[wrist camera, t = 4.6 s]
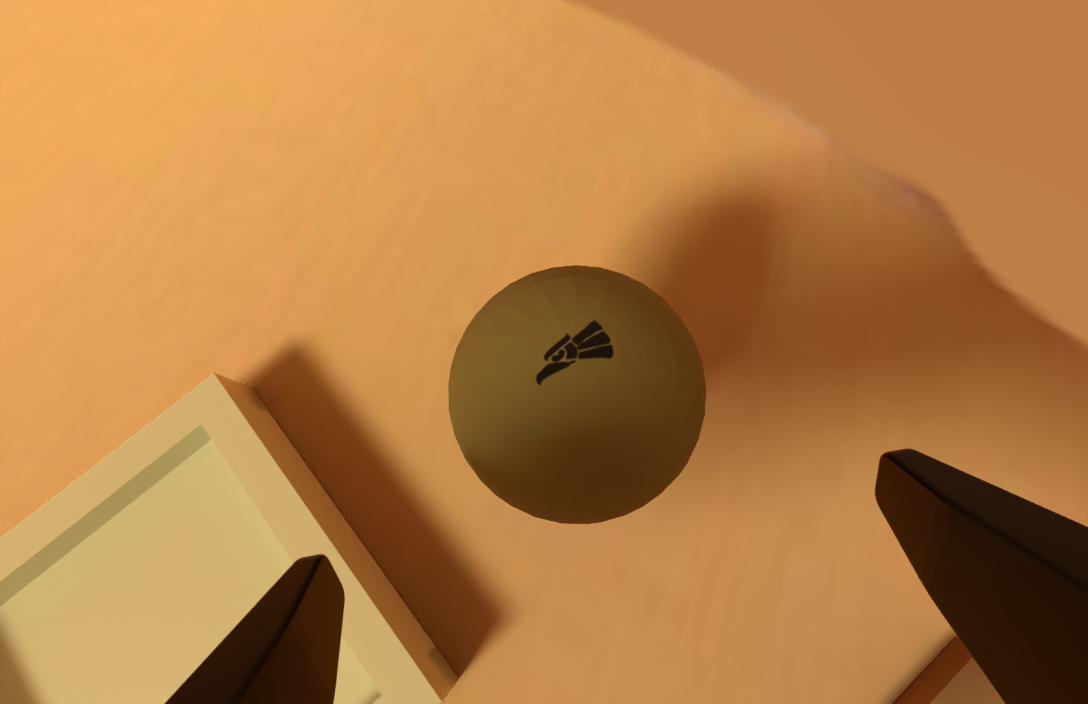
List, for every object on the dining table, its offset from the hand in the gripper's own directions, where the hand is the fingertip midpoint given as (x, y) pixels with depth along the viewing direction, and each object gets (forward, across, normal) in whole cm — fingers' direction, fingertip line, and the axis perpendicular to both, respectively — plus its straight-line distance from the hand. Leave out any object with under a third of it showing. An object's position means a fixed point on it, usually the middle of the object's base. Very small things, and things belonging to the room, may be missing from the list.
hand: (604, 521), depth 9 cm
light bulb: (+9, 0, +5) cm, 11 cm away
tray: (+6, +14, +8) cm, 17 cm away
